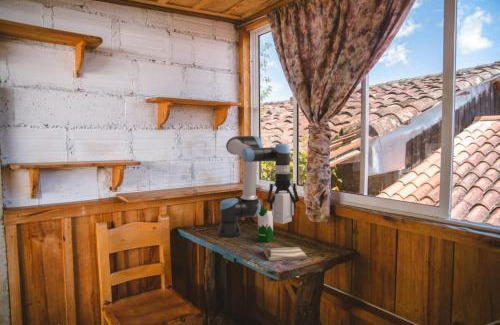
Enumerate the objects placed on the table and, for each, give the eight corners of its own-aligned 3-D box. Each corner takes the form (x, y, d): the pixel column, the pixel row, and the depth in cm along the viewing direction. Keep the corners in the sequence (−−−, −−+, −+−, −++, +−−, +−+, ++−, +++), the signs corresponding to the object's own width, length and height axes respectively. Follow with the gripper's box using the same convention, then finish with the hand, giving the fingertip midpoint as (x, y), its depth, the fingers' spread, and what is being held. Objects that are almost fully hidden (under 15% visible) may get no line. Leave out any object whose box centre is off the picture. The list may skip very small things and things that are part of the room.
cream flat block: (262, 251, 200) (262, 242, 200) (298, 249, 203) (298, 240, 202) (267, 260, 184) (267, 251, 184) (307, 258, 187) (307, 249, 187)
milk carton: (255, 241, 221) (255, 208, 220) (263, 237, 229) (263, 206, 228) (268, 243, 216) (267, 210, 215) (275, 239, 224) (275, 207, 223)
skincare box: (282, 219, 197) (282, 191, 196) (292, 221, 192) (292, 192, 191) (273, 222, 190) (272, 193, 190) (283, 224, 186) (283, 194, 185)
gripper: (262, 174, 185) (263, 217, 186) (305, 173, 188) (305, 215, 189) (260, 173, 192) (260, 214, 193) (301, 172, 195) (301, 213, 196)
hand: (282, 215), depth 191 cm, fingers closed on skincare box, 10 cm apart
